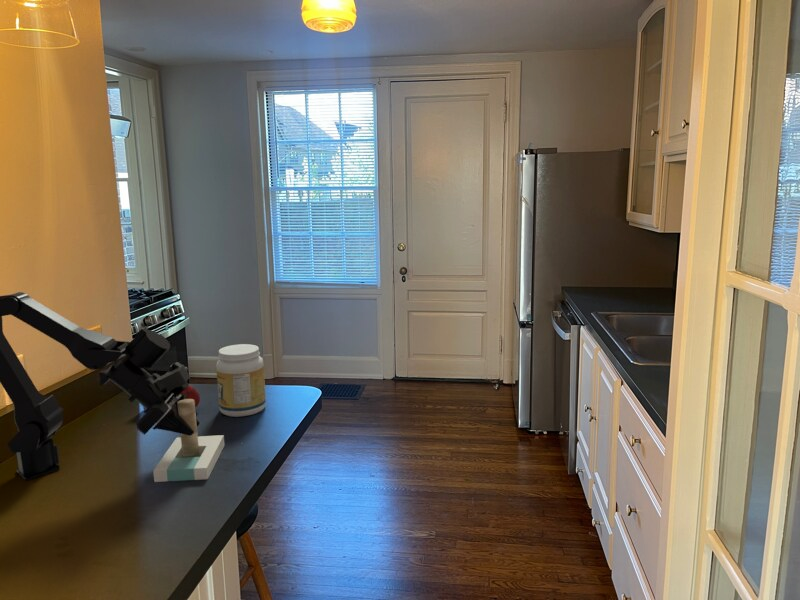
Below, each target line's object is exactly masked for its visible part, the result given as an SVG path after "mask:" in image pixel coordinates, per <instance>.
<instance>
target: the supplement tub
mask: <svg viewBox="0 0 800 600" xmlns="http://www.w3.org/2000/svg"><path fill="white" fill-rule="evenodd" d="M260 355H261V353H260V348H259V346H258V345H255V344H249V343H244V344H243V343H239V344H231V345H227V346H223V347H221V348H220V349H219V350H218V355H217V356H218V360H217V362H216V365H215V370H216V382H217V394H218V408H219V411H220V413H221V414H223V415H225V416H228V417H234V418H235V417H237V418H239V417H247V416H252V415H255V414H258V413H259V412H262V411H263V410H264V408H265V407H266V404H267V401H266V384H265V369H264V368H265V367H264V359H263V358H262V357H261V356H260Z"/></svg>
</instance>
